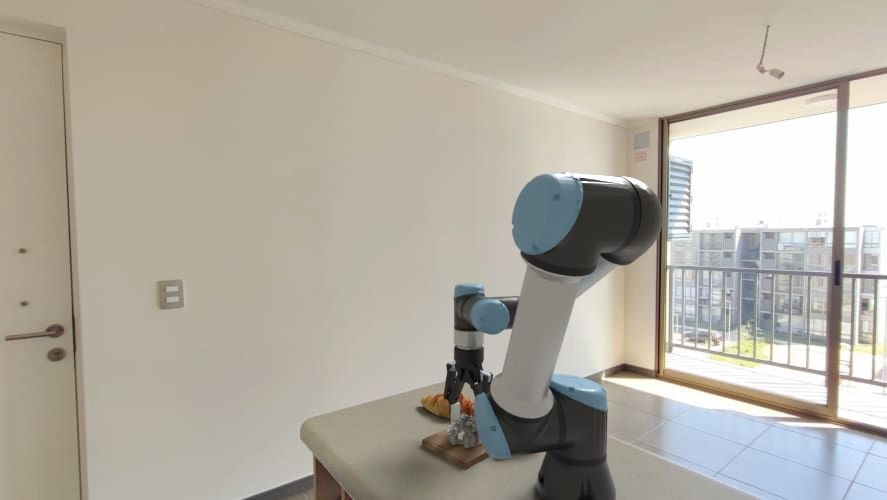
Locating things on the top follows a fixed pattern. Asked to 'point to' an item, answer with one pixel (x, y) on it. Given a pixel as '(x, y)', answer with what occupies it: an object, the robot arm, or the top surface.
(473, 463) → the walnut board
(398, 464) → the top surface
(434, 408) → the croissant
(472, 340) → the robot arm
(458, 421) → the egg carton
